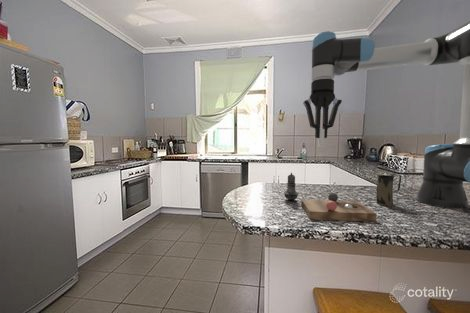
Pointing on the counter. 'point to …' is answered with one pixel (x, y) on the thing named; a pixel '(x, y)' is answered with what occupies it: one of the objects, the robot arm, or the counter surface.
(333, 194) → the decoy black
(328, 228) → the counter surface
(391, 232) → the counter surface
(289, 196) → the salt shaker
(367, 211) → the wooden board
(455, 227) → the counter surface
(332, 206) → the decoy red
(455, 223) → the counter surface
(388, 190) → the mug
